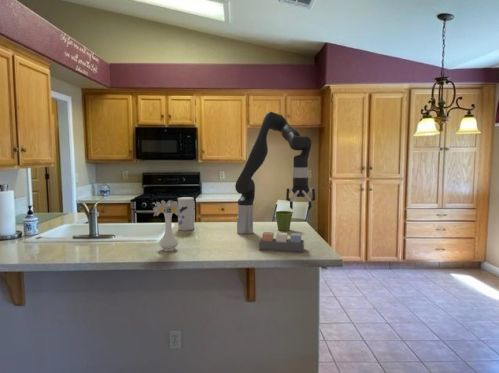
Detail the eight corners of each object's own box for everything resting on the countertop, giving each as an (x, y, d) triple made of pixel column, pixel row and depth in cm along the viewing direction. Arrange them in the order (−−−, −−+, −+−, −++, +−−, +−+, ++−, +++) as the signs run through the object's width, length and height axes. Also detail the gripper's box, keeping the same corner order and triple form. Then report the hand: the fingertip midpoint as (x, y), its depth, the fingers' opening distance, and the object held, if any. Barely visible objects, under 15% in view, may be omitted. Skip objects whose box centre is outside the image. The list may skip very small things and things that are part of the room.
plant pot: (270, 229, 230) (271, 211, 229) (286, 227, 235) (287, 210, 234) (280, 232, 219) (280, 214, 218) (296, 231, 224) (297, 213, 223)
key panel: (259, 250, 180) (259, 241, 179) (261, 246, 187) (261, 237, 187) (303, 252, 175) (303, 243, 175) (304, 248, 183) (304, 239, 183)
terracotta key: (262, 242, 180) (262, 234, 180) (263, 240, 185) (263, 231, 185) (272, 243, 179) (272, 234, 179) (273, 241, 184) (273, 232, 184)
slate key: (290, 244, 178) (290, 235, 177) (291, 241, 183) (291, 233, 182) (300, 244, 177) (300, 235, 176) (301, 242, 182) (301, 233, 181)
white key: (276, 243, 179) (276, 234, 179) (277, 241, 184) (277, 232, 184) (286, 244, 178) (286, 235, 178) (287, 241, 183) (287, 233, 183)
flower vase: (184, 244, 191) (183, 197, 189) (177, 254, 173) (176, 202, 170) (160, 244, 191) (159, 197, 189) (150, 254, 173) (149, 202, 170)
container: (175, 230, 226) (174, 198, 224) (182, 227, 236) (182, 196, 234) (189, 231, 223) (189, 199, 221) (196, 228, 233) (196, 197, 231)
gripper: (314, 176, 182) (314, 207, 183) (286, 176, 183) (286, 207, 185) (315, 177, 174) (315, 210, 176) (286, 177, 176) (286, 210, 177)
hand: (300, 208), depth 180 cm, fingers open, 8 cm apart
